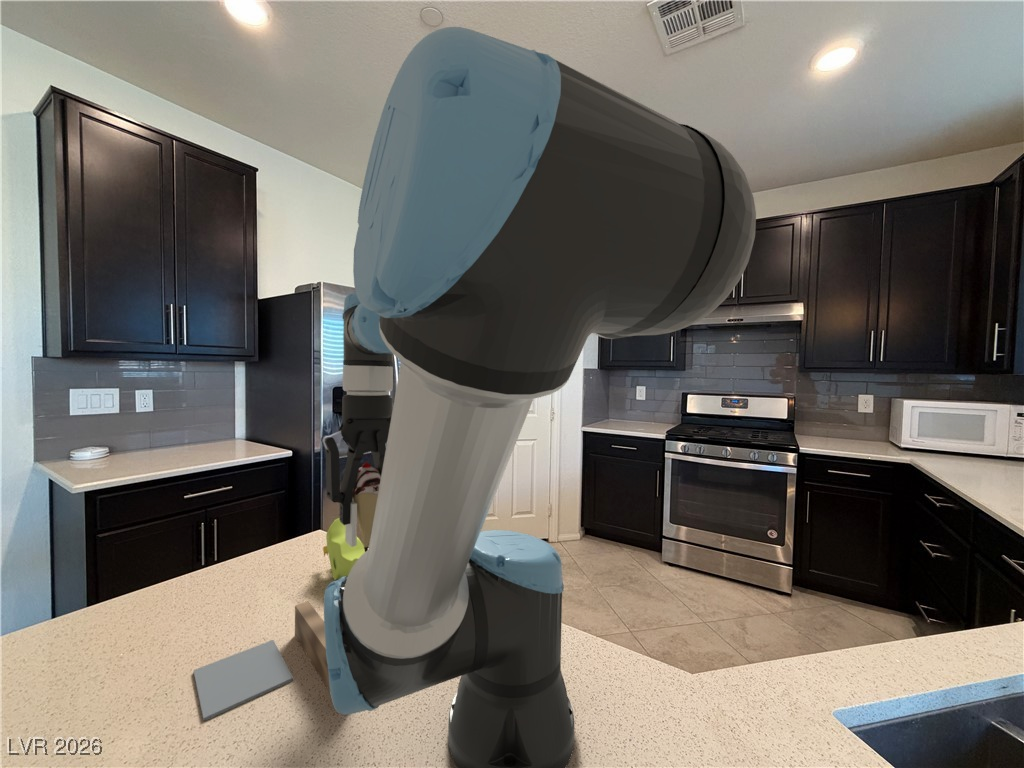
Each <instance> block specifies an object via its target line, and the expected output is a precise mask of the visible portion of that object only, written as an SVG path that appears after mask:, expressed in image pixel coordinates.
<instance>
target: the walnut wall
mask: <svg viewBox="0 0 1024 768" xmlns="http://www.w3.org/2000/svg"><path fill="white" fill-rule="evenodd" d="M294 637H295V639H296V640H297V642H298V644H300V646H301V648H302V650H303V651H304V653H305V655H306V656H307V658H308V659H309V661H310V663H311V664H312V666H313V667H314V669H315V671H316V673H317V674H318V675H319V677H320V679H321V680H322V682H323V684H324V686H325V687H326V689H327V690H328V692H329V693H330V685H329V673H328V664H327V657H326V644H325V627H324V618H322V617H321V616H320V614H319V613H318V612H317V610H316V609H315V608H314V607H313V605H312V604H311V602H310V601H309V600H307V601H305V602H301V603H298V604H295V605H294ZM330 695H331V693H330Z"/></svg>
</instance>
